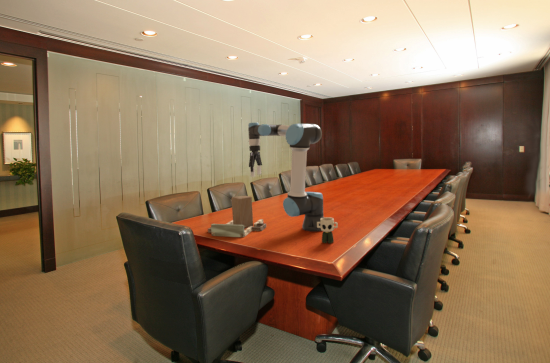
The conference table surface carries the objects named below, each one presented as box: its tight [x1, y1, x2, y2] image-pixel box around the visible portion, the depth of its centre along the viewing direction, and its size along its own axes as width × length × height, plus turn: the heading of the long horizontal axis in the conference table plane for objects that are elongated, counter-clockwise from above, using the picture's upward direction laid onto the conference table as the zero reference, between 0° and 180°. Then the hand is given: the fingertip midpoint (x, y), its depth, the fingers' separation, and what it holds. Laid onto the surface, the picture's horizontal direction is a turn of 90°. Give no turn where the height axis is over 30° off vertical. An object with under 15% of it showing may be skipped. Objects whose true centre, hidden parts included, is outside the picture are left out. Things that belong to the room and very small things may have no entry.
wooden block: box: [231, 195, 254, 229], centre depth 205 cm, size 10×10×20 cm
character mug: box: [317, 216, 339, 244], centre depth 163 cm, size 11×7×13 cm, turn 77°
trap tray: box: [207, 218, 267, 238], centre depth 200 cm, size 35×33×7 cm
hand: (256, 175), depth 216 cm, fingers open, 13 cm apart
